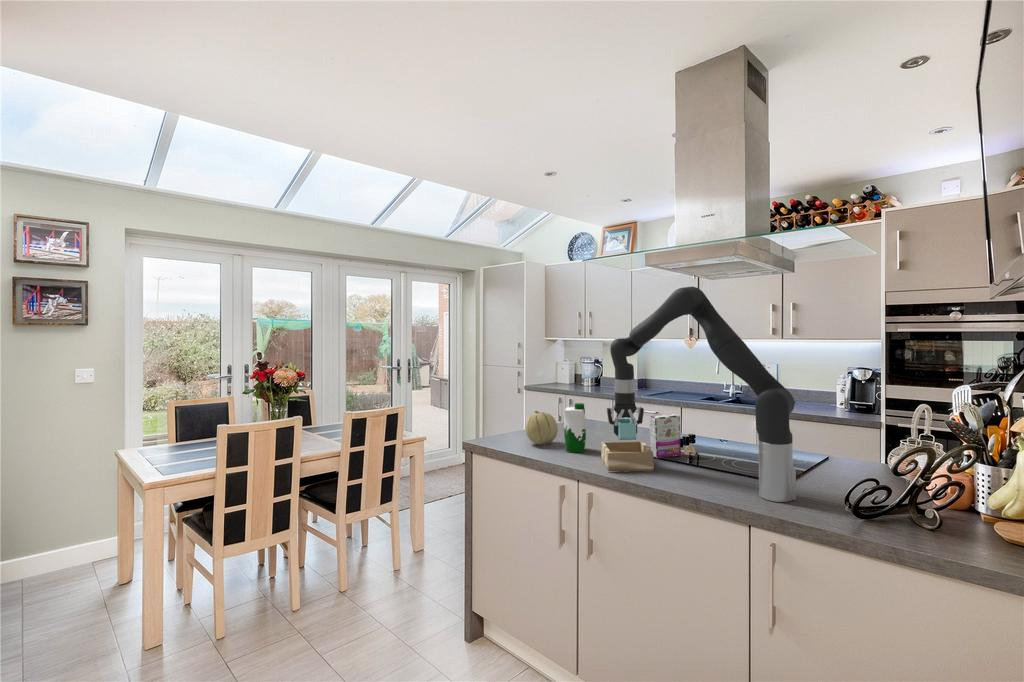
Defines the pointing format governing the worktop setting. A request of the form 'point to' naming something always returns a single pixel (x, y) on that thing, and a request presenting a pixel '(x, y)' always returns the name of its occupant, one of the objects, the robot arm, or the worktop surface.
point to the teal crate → (626, 429)
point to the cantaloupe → (541, 428)
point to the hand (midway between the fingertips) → (625, 434)
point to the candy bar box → (665, 435)
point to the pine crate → (627, 456)
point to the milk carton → (575, 428)
